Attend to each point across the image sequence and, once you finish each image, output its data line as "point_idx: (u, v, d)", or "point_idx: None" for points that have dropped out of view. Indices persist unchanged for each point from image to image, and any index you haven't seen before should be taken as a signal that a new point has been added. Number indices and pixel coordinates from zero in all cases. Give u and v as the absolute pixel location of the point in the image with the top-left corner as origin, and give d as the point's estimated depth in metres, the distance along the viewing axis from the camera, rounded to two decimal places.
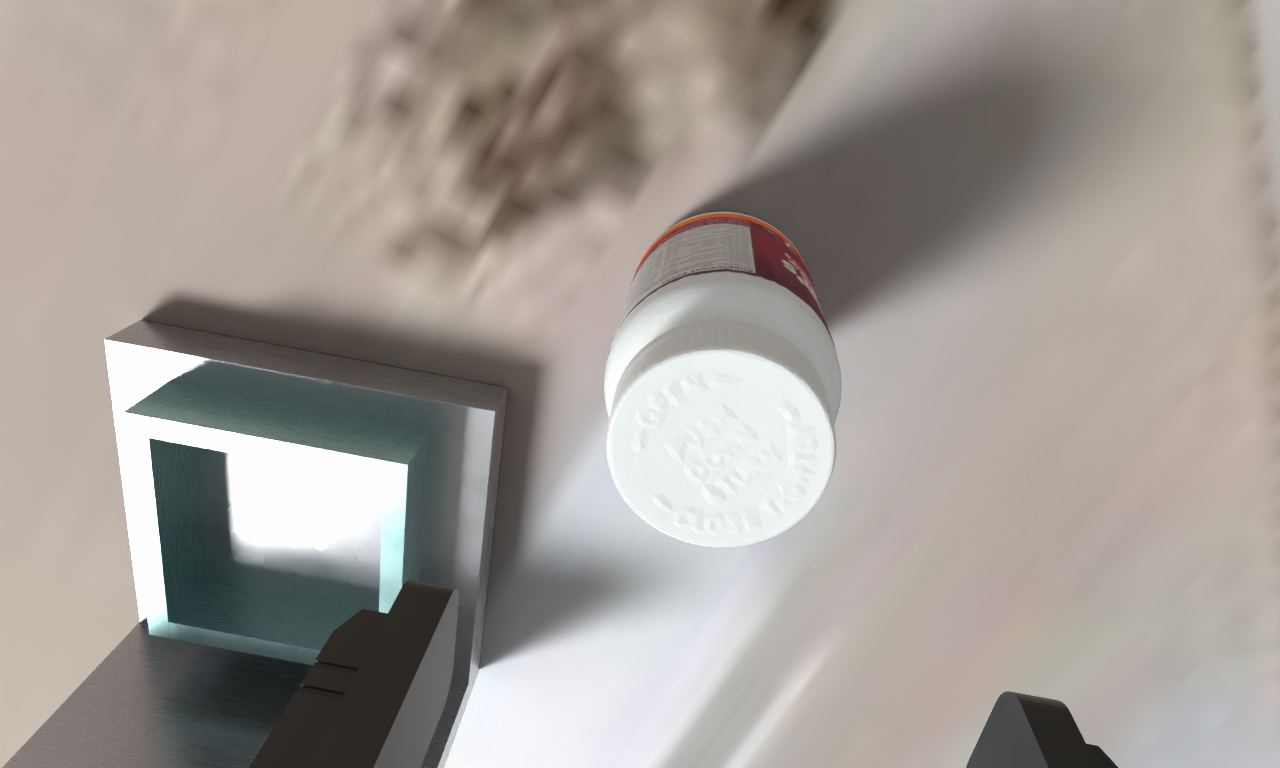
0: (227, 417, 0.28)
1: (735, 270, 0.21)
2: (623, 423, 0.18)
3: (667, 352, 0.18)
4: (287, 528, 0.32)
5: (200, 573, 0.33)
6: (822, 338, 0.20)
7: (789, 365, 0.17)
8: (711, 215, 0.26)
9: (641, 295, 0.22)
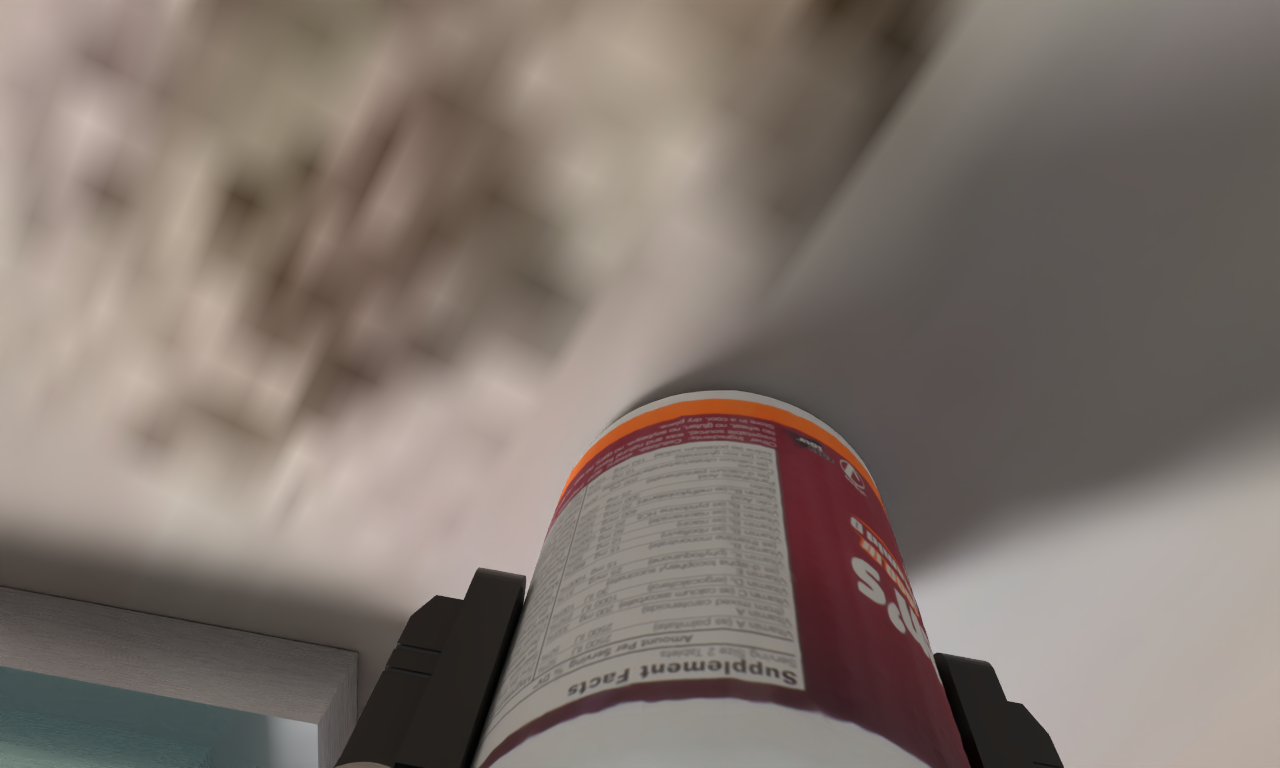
0: None
1: (752, 685, 0.08)
2: None
3: None
4: None
5: None
6: None
7: None
8: (699, 405, 0.14)
9: (525, 696, 0.09)
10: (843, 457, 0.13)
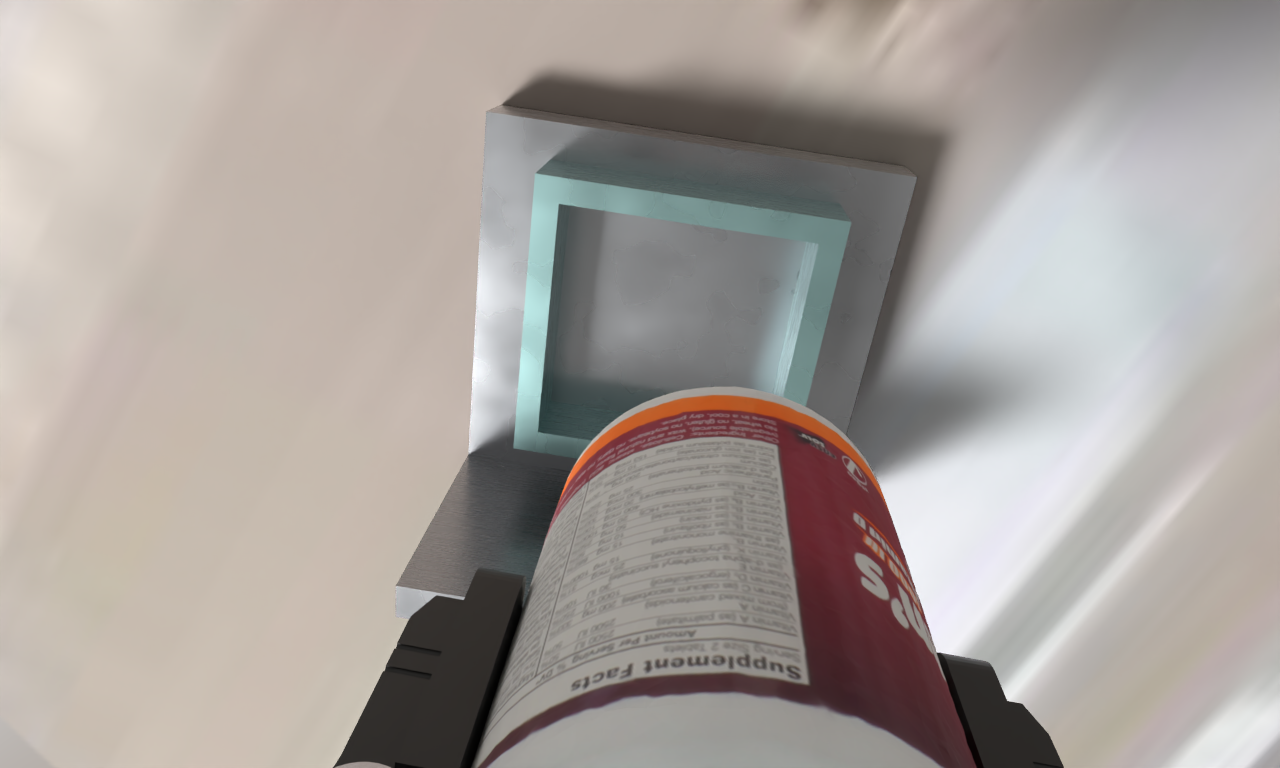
0: (638, 183, 0.25)
1: (757, 680, 0.08)
2: None
3: None
4: (653, 334, 0.29)
5: (550, 390, 0.30)
6: None
7: None
8: (700, 402, 0.14)
9: (528, 692, 0.09)
10: (845, 453, 0.13)
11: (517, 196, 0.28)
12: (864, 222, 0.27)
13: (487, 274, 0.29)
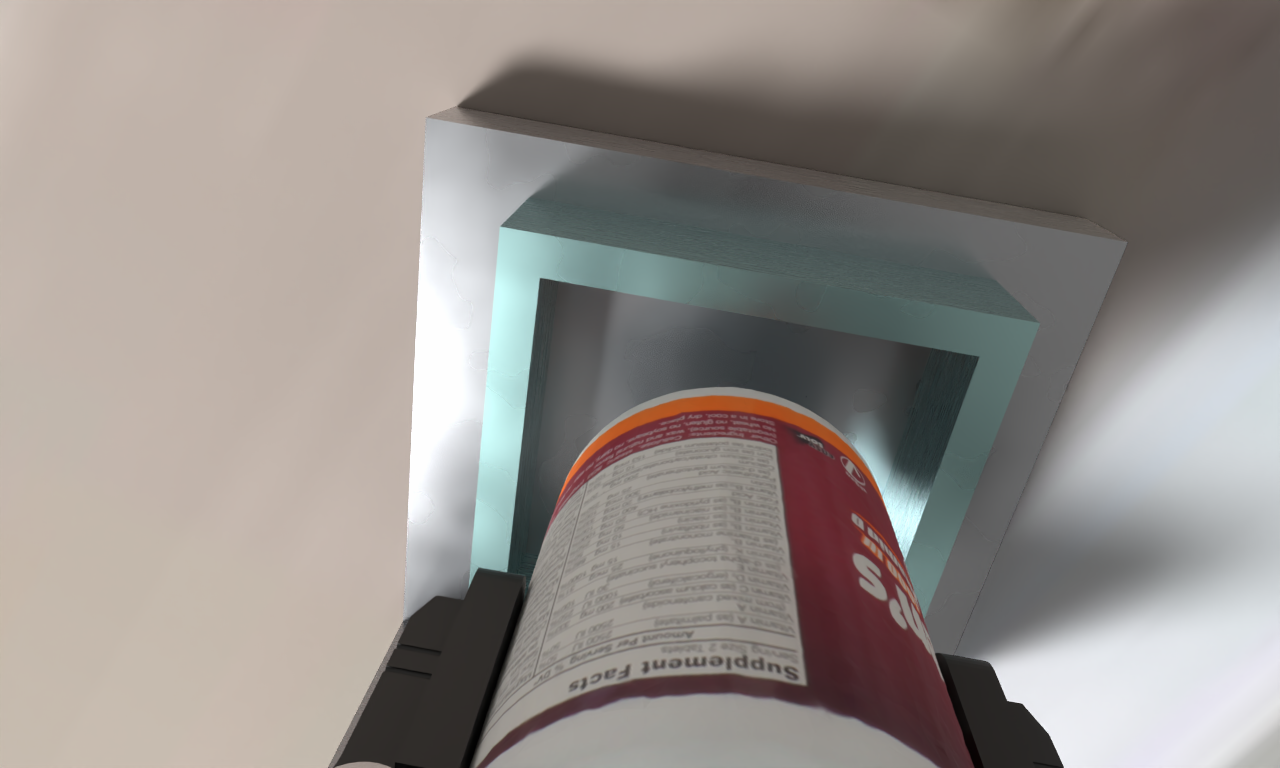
0: (673, 244, 0.15)
1: (754, 680, 0.08)
2: None
3: None
4: None
5: (525, 542, 0.20)
6: None
7: None
8: (699, 402, 0.14)
9: (526, 692, 0.09)
10: (844, 454, 0.13)
11: (476, 253, 0.17)
12: (1032, 310, 0.17)
13: (429, 369, 0.18)
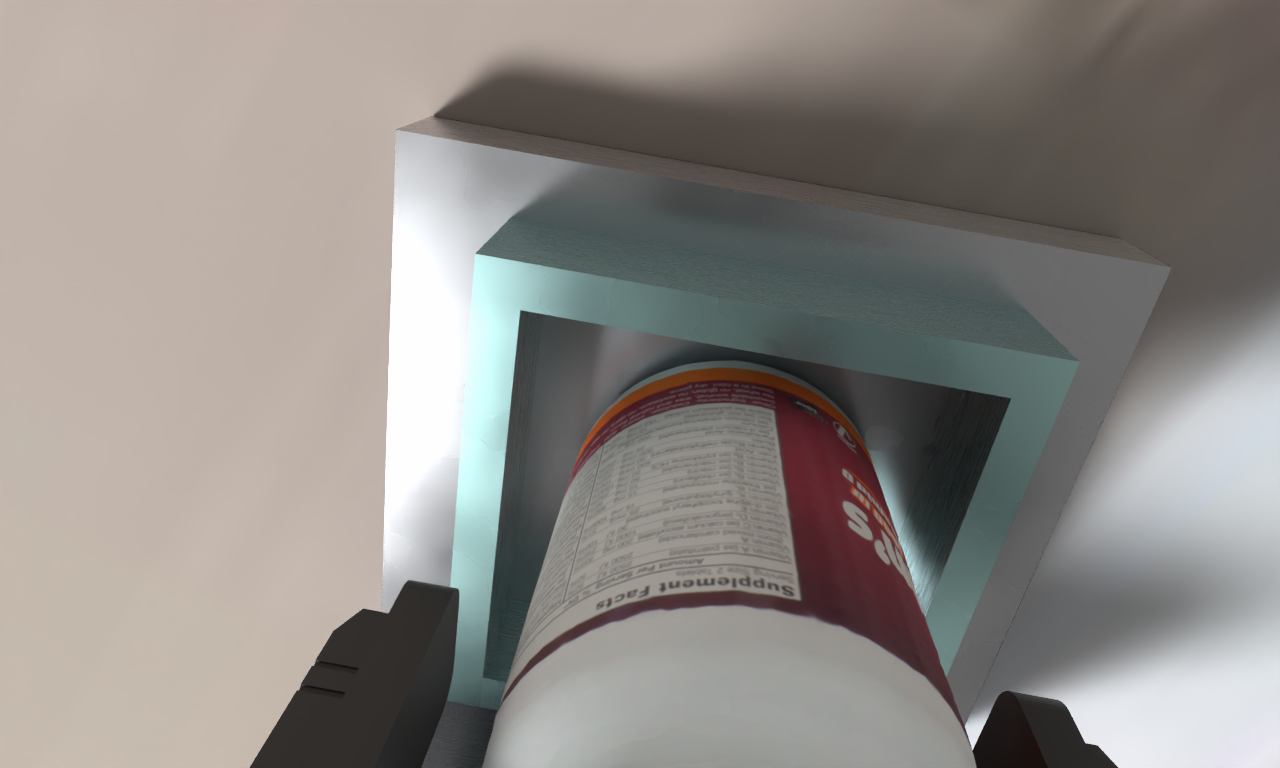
0: (670, 272, 0.14)
1: (756, 596, 0.09)
2: None
3: None
4: None
5: (509, 586, 0.18)
6: None
7: None
8: (704, 373, 0.15)
9: (557, 615, 0.10)
10: (836, 420, 0.15)
11: (453, 278, 0.16)
12: (1065, 341, 0.15)
13: (404, 403, 0.17)
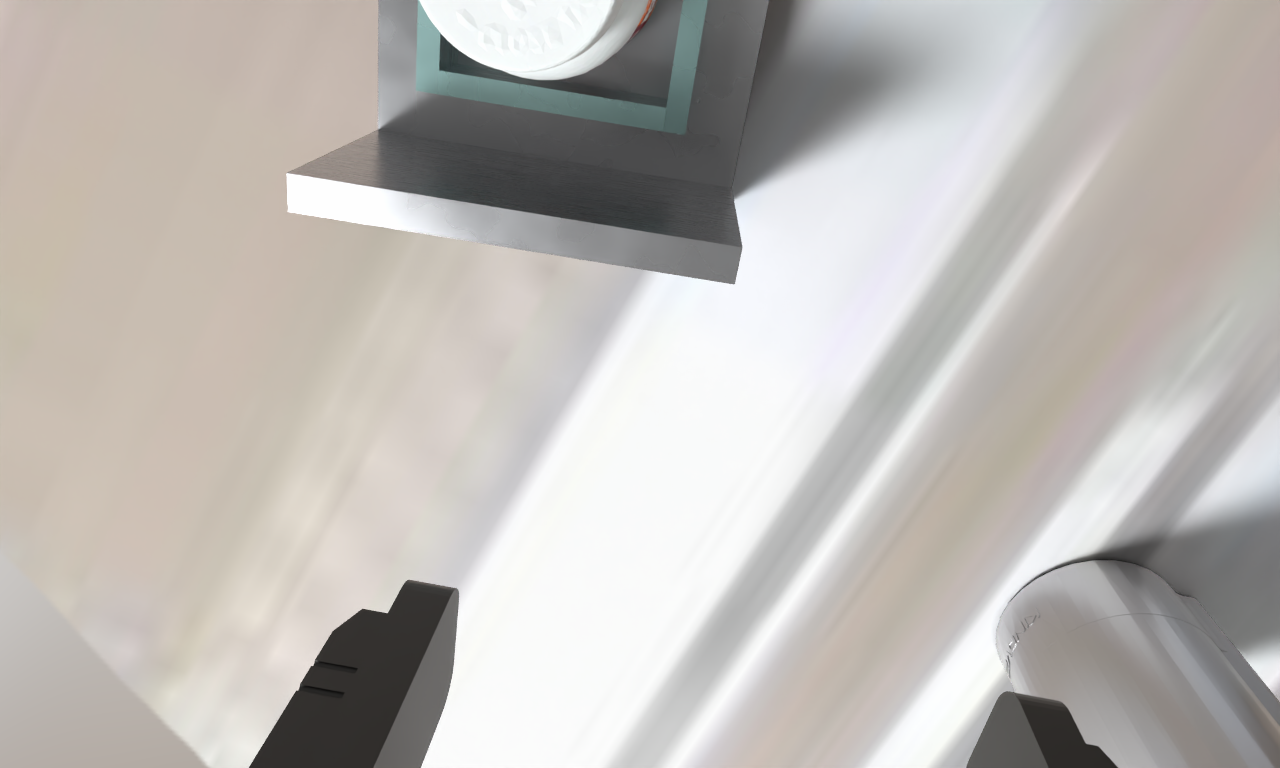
0: None
1: None
2: None
3: None
4: None
5: (456, 48, 0.30)
6: None
7: None
8: None
9: None
10: None
11: None
12: None
13: None
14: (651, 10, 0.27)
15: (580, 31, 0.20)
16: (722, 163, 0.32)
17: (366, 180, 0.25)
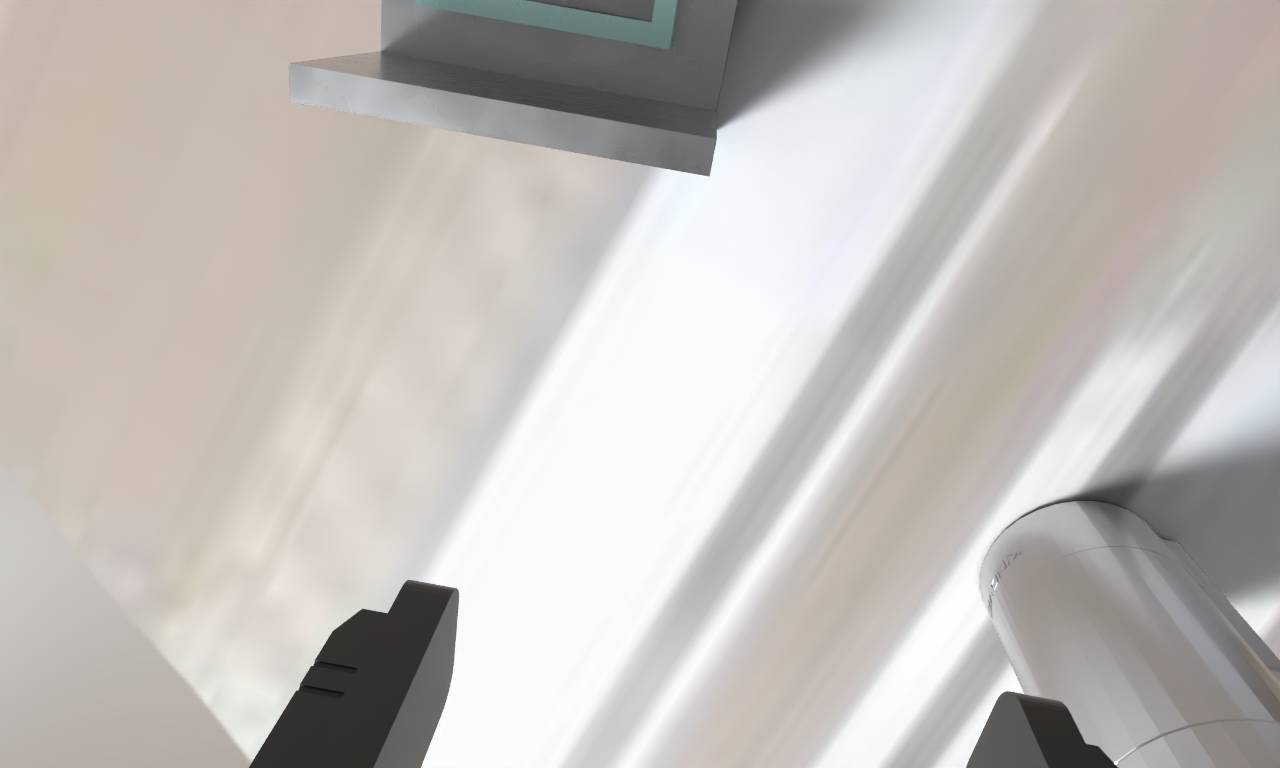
0: None
1: None
2: None
3: None
4: None
5: None
6: None
7: None
8: None
9: None
10: None
11: None
12: None
13: None
14: None
15: None
16: (707, 86, 0.33)
17: (363, 73, 0.27)
